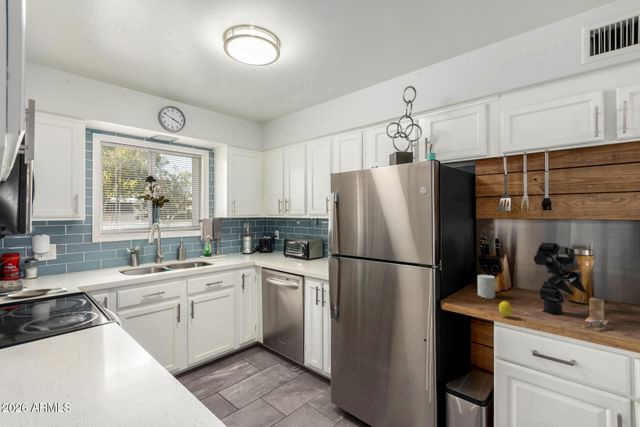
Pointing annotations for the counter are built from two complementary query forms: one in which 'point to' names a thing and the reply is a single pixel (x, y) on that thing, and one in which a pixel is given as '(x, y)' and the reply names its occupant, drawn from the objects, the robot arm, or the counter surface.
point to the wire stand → (597, 325)
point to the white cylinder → (486, 286)
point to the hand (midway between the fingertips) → (579, 293)
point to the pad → (603, 321)
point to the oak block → (596, 309)
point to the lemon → (505, 308)
